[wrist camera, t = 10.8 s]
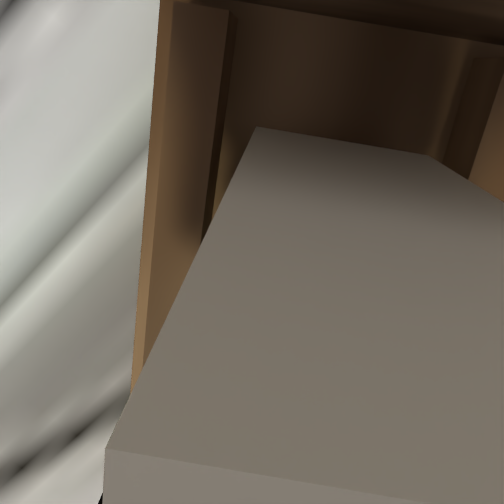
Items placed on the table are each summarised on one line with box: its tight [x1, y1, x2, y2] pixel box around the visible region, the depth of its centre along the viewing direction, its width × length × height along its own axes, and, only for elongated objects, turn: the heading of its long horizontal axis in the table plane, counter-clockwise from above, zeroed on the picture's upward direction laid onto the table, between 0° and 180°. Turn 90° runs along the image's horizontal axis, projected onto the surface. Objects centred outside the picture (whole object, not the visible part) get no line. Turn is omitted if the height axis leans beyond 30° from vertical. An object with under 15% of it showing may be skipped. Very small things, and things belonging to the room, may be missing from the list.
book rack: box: [130, 0, 504, 395], centre depth 12 cm, size 10×20×10 cm, turn 171°
